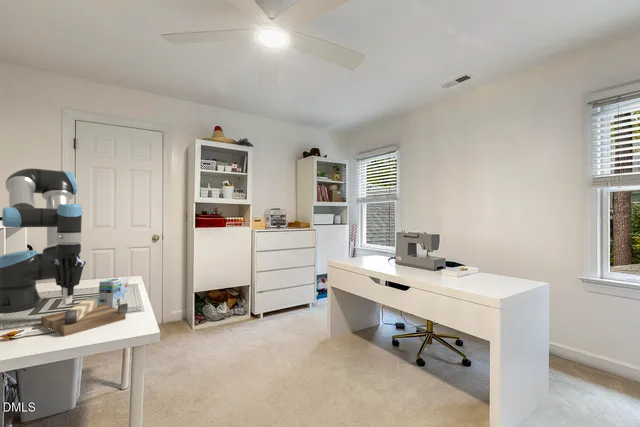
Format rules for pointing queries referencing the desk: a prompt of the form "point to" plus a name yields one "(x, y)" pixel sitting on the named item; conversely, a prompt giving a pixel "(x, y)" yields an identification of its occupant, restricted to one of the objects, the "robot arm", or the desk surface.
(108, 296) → the light bulb box
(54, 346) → the desk surface
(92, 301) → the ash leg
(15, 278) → the robot arm
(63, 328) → the walnut seat
